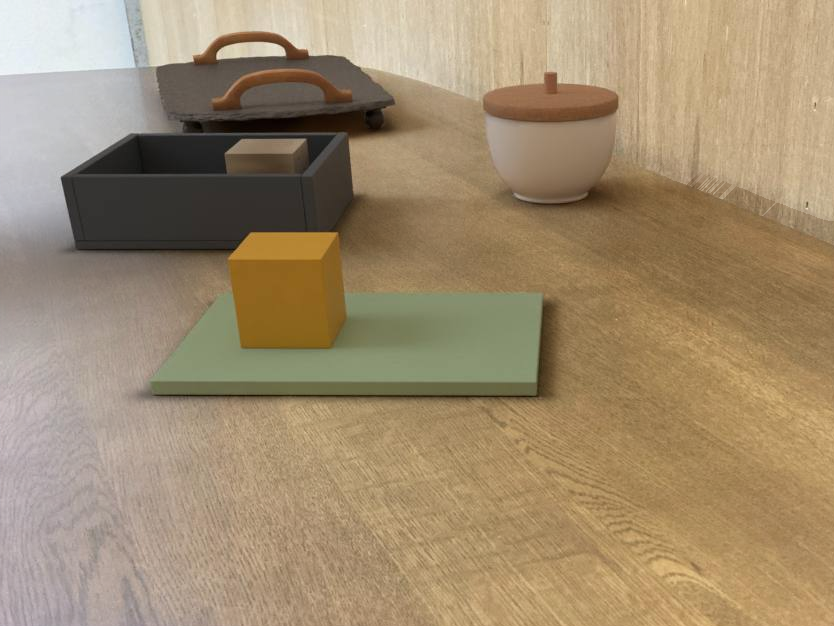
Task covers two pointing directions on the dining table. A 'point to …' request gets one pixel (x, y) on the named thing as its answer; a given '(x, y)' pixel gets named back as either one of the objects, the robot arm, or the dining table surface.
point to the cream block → (268, 156)
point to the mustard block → (288, 289)
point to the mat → (373, 350)
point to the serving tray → (266, 86)
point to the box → (201, 192)
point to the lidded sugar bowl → (550, 137)
